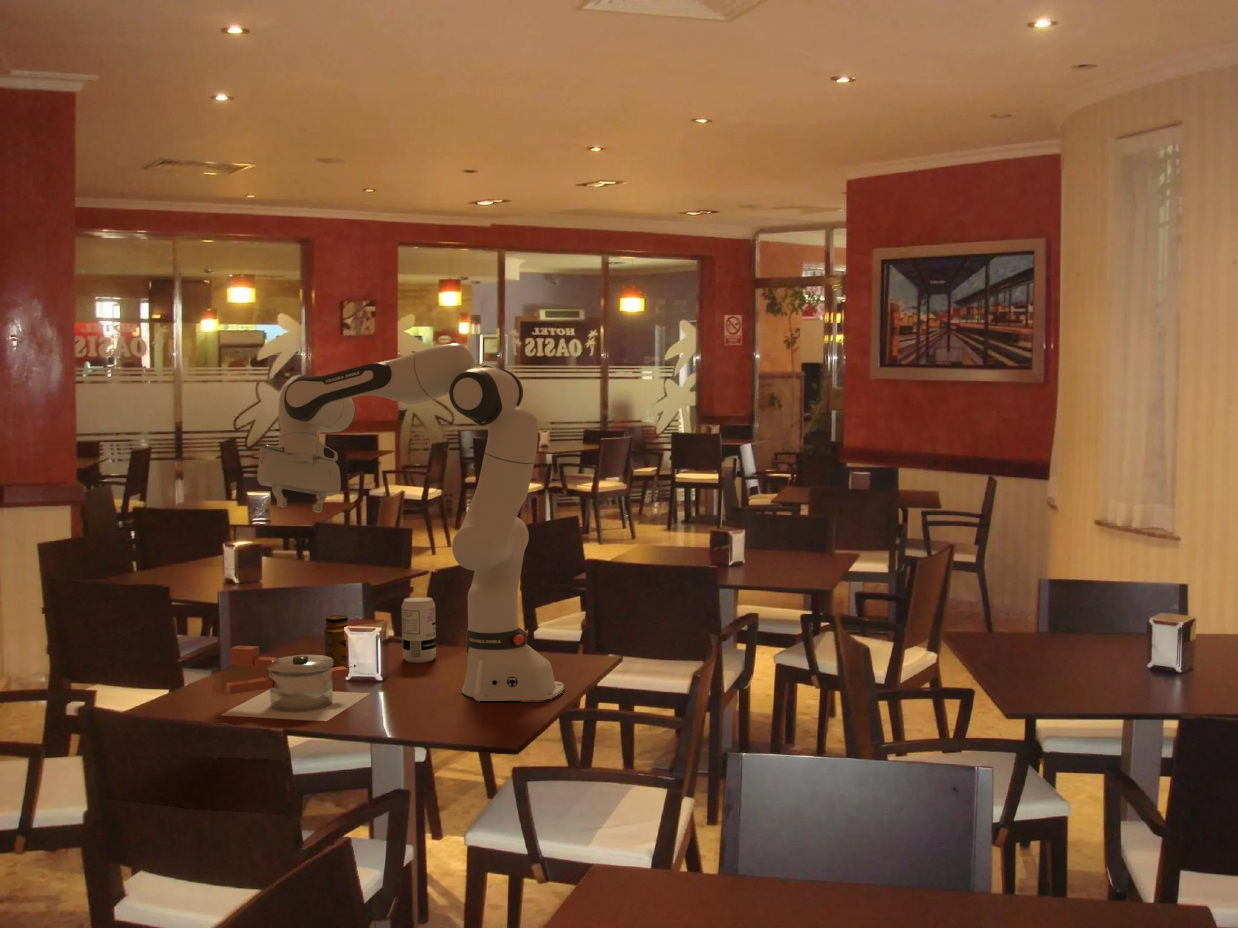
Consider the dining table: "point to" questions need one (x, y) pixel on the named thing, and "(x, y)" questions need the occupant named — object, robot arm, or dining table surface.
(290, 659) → the lid
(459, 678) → the dining table surface
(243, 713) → the mat
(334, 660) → the condiment
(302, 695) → the cooker
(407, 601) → the supplement can
